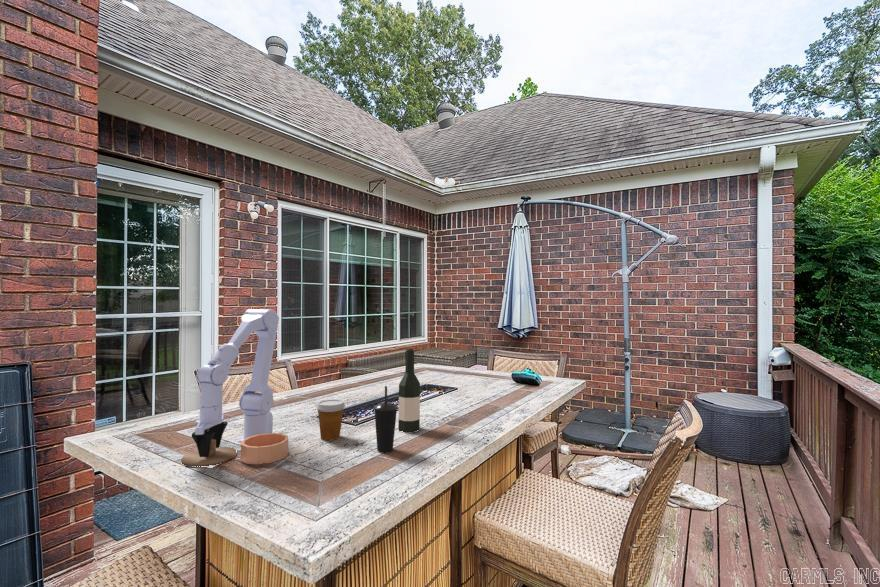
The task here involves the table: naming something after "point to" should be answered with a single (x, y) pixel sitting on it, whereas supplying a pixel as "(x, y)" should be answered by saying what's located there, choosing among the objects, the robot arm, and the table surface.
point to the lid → (214, 456)
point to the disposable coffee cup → (330, 418)
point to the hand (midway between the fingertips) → (209, 452)
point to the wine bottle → (409, 397)
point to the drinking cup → (385, 424)
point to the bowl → (264, 448)
